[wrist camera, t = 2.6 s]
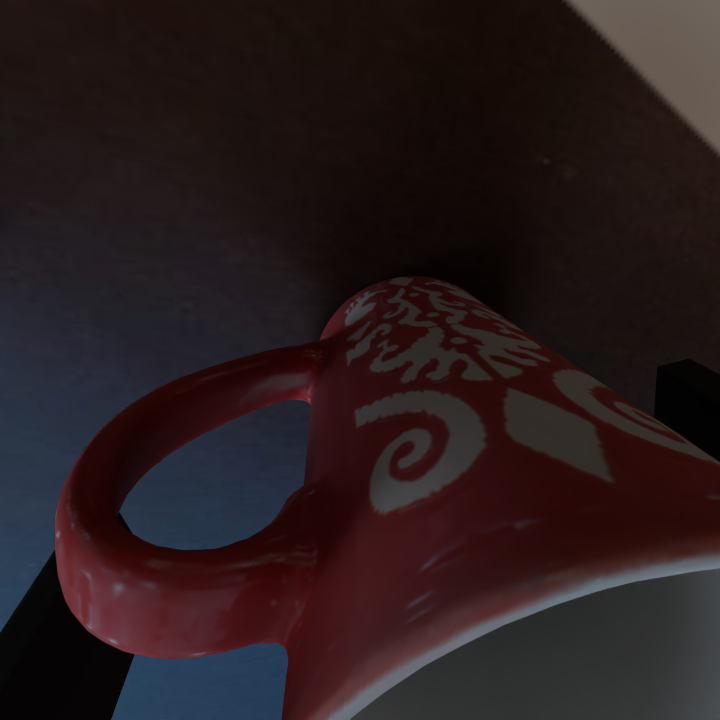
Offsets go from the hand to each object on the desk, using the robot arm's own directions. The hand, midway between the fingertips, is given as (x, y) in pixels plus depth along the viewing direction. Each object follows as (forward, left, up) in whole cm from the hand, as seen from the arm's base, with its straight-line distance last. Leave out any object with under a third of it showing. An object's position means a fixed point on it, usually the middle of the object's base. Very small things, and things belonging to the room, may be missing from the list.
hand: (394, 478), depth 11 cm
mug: (0, 0, -8) cm, 8 cm away
